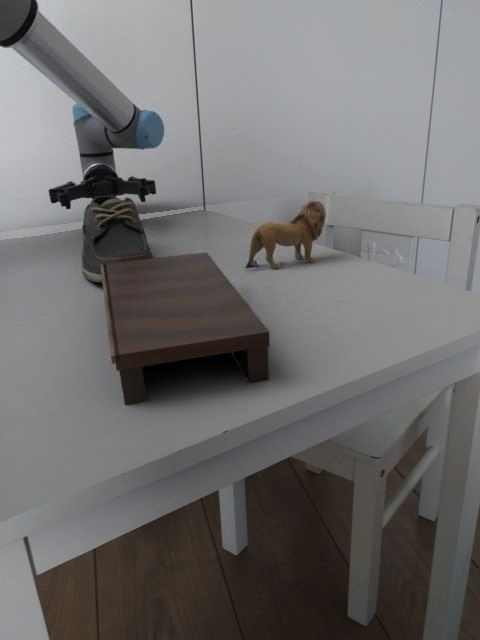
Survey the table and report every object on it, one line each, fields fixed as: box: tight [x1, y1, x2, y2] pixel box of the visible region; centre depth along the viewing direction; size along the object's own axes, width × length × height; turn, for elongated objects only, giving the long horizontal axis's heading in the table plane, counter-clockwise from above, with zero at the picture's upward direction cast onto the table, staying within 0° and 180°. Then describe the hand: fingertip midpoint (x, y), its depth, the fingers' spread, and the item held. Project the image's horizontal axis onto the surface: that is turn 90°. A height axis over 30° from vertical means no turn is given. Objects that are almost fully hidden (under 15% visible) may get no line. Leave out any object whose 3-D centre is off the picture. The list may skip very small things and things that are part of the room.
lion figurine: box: [244, 200, 327, 269], centre depth 88 cm, size 15×5×9 cm, turn 122°
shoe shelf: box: [101, 251, 271, 405], centre depth 65 cm, size 30×14×5 cm, turn 16°
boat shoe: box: [81, 196, 154, 283], centre depth 90 cm, size 11×29×11 cm, turn 24°
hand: (105, 198), depth 105 cm, fingers open, 13 cm apart
